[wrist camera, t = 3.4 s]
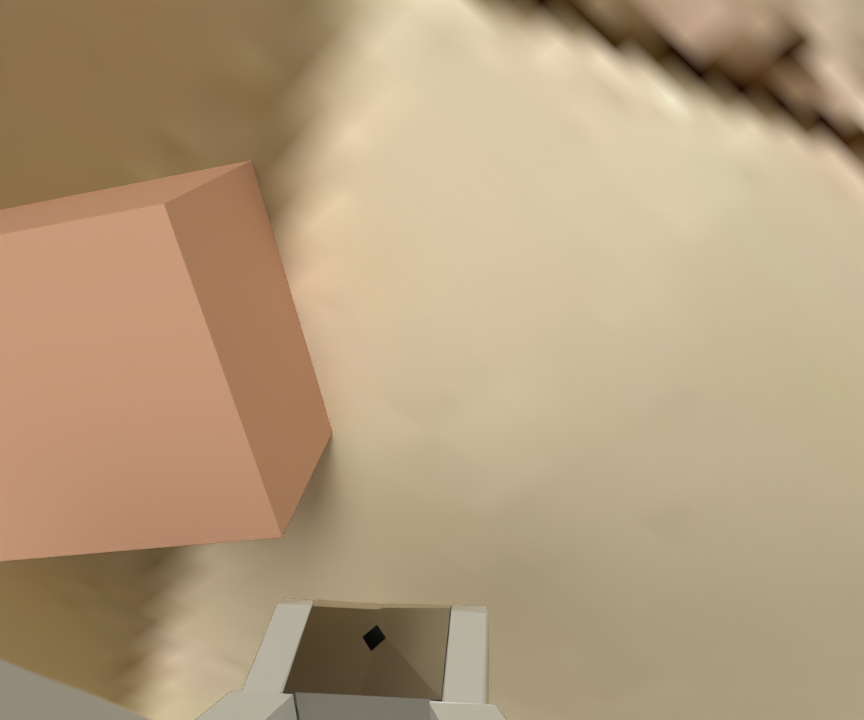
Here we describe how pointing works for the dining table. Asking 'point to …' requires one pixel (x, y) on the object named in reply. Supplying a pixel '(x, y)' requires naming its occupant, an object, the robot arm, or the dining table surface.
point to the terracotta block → (150, 370)
